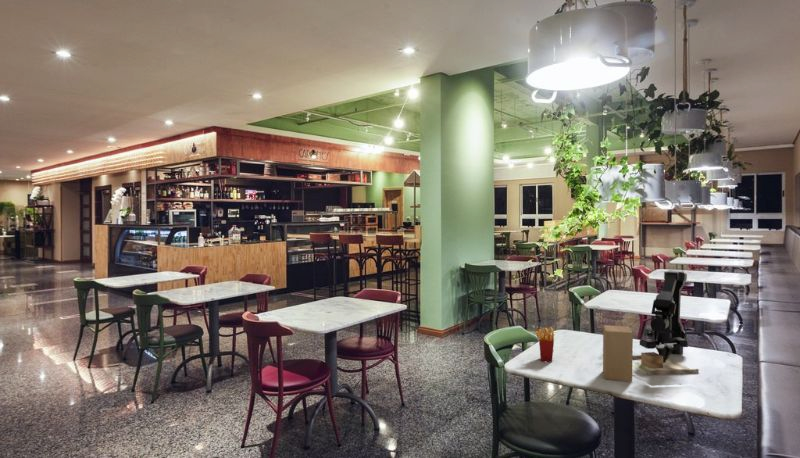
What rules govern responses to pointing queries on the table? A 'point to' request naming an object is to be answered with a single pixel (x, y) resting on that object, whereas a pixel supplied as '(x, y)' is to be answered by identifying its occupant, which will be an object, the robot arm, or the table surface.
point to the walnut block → (652, 360)
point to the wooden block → (617, 353)
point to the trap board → (664, 367)
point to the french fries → (546, 344)
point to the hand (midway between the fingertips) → (663, 362)
